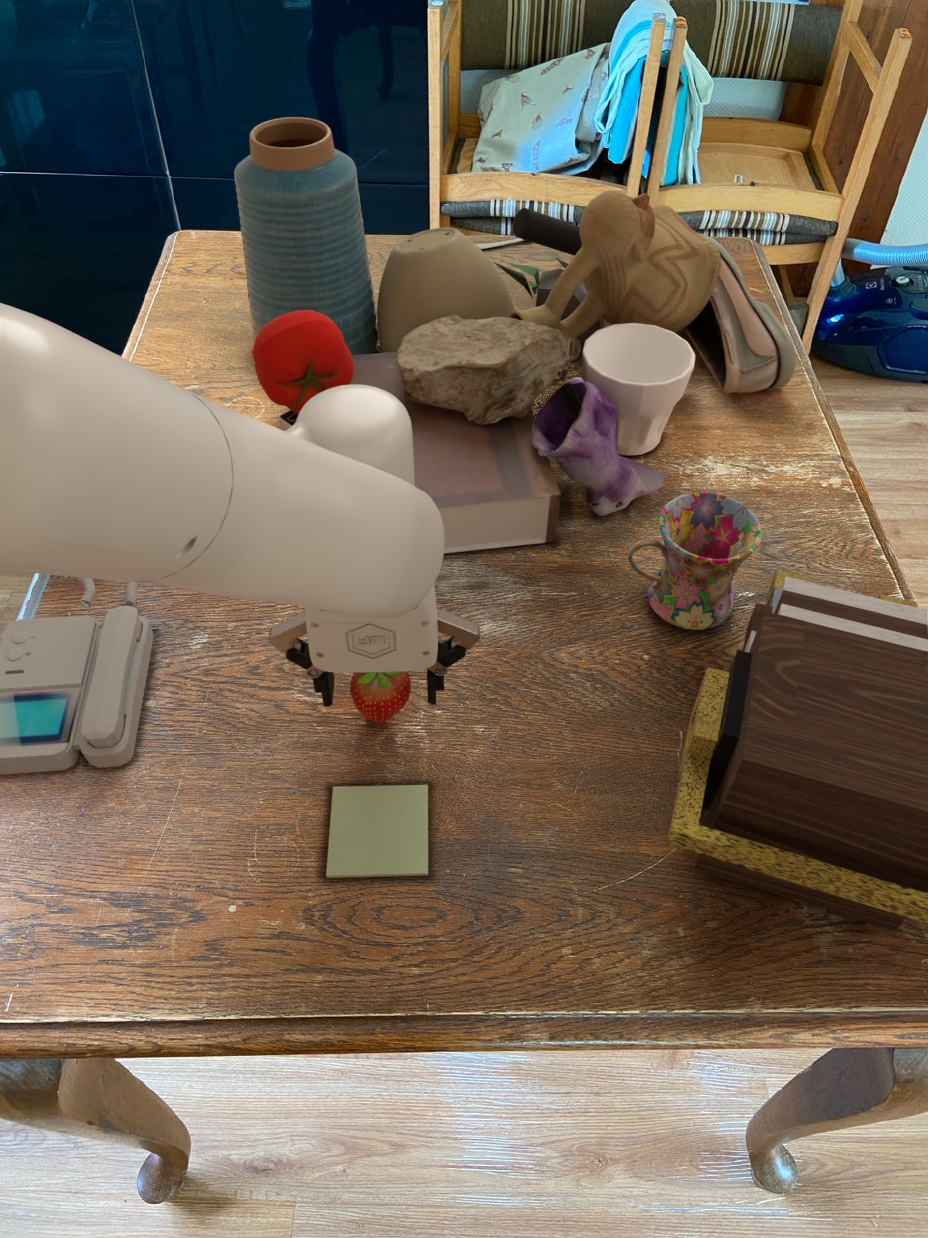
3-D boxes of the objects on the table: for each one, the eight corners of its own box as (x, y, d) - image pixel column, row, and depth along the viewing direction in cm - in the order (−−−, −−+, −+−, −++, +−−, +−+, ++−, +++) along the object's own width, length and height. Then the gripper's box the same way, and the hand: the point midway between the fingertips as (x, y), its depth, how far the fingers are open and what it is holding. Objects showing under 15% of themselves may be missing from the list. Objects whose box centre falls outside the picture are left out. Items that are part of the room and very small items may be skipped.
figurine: (539, 476, 91) (634, 542, 99) (605, 394, 89) (697, 469, 97) (508, 441, 99) (598, 505, 107) (568, 364, 96) (656, 436, 104)
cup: (670, 403, 112) (688, 323, 104) (683, 468, 104) (703, 386, 96) (570, 401, 112) (579, 320, 104) (575, 465, 104) (585, 383, 96)
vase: (232, 341, 121) (187, 128, 101) (332, 300, 128) (309, 93, 108) (301, 396, 113) (268, 176, 93) (404, 349, 120) (393, 135, 100)
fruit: (364, 687, 83) (357, 631, 77) (418, 697, 83) (415, 641, 77) (346, 734, 80) (337, 680, 74) (403, 745, 79) (398, 691, 73)
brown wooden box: (706, 624, 90) (650, 886, 70) (743, 508, 79) (691, 777, 59) (929, 681, 85) (938, 978, 65) (999, 567, 75) (1036, 877, 55)
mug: (718, 565, 94) (742, 487, 86) (748, 633, 88) (777, 555, 80) (605, 576, 93) (619, 498, 85) (628, 646, 87) (646, 568, 79)
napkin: (428, 875, 71) (428, 873, 71) (326, 878, 71) (325, 876, 71) (428, 787, 77) (427, 784, 76) (333, 789, 76) (332, 786, 76)
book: (506, 388, 114) (508, 342, 109) (555, 541, 96) (560, 494, 91) (312, 405, 112) (305, 359, 107) (324, 566, 93) (317, 519, 88)
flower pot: (325, 265, 111) (354, 358, 119) (434, 265, 101) (459, 368, 108) (417, 215, 121) (439, 304, 128) (526, 210, 110) (543, 308, 118)
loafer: (691, 205, 122) (628, 222, 121) (811, 331, 106) (740, 353, 105) (681, 274, 131) (622, 291, 130) (791, 401, 115) (725, 422, 113)
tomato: (319, 284, 88) (342, 332, 86) (350, 352, 98) (371, 397, 96) (228, 326, 88) (248, 376, 86) (269, 390, 98) (288, 436, 96)
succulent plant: (483, 348, 120) (485, 287, 114) (501, 273, 133) (503, 215, 127) (602, 358, 119) (610, 298, 112) (608, 281, 132) (616, 223, 125)
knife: (555, 230, 142) (555, 225, 141) (561, 237, 140) (561, 231, 140) (438, 251, 139) (437, 246, 138) (442, 258, 137) (442, 253, 137)
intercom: (158, 525, 90) (118, 738, 74) (168, 556, 94) (132, 765, 78) (22, 533, 90) (-48, 749, 74) (38, 563, 93) (-26, 776, 77)
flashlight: (639, 255, 133) (640, 288, 133) (508, 211, 120) (508, 248, 119) (665, 242, 129) (665, 276, 129) (531, 195, 115) (532, 233, 115)
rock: (411, 452, 100) (587, 403, 95) (379, 372, 95) (562, 316, 89) (433, 394, 113) (589, 348, 108) (406, 321, 108) (567, 269, 103)
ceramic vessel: (764, 252, 108) (642, 227, 91) (668, 384, 120) (544, 384, 103) (674, 171, 114) (544, 134, 97) (592, 304, 126) (464, 292, 110)
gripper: (238, 589, 63) (276, 730, 76) (487, 585, 63) (482, 726, 77) (252, 516, 68) (285, 660, 81) (483, 513, 68) (478, 657, 81)
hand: (380, 692), depth 79 cm, fingers open, 8 cm apart
